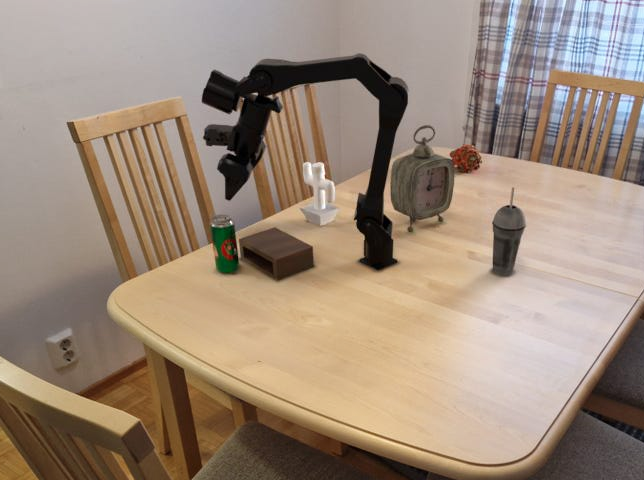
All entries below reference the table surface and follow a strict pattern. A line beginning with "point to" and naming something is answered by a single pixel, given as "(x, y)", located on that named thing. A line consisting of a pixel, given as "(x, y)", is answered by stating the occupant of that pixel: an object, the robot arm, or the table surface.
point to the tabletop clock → (422, 182)
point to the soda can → (224, 243)
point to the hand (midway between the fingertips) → (232, 192)
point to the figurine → (319, 195)
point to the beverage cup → (507, 237)
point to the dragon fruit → (466, 158)
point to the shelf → (276, 253)
